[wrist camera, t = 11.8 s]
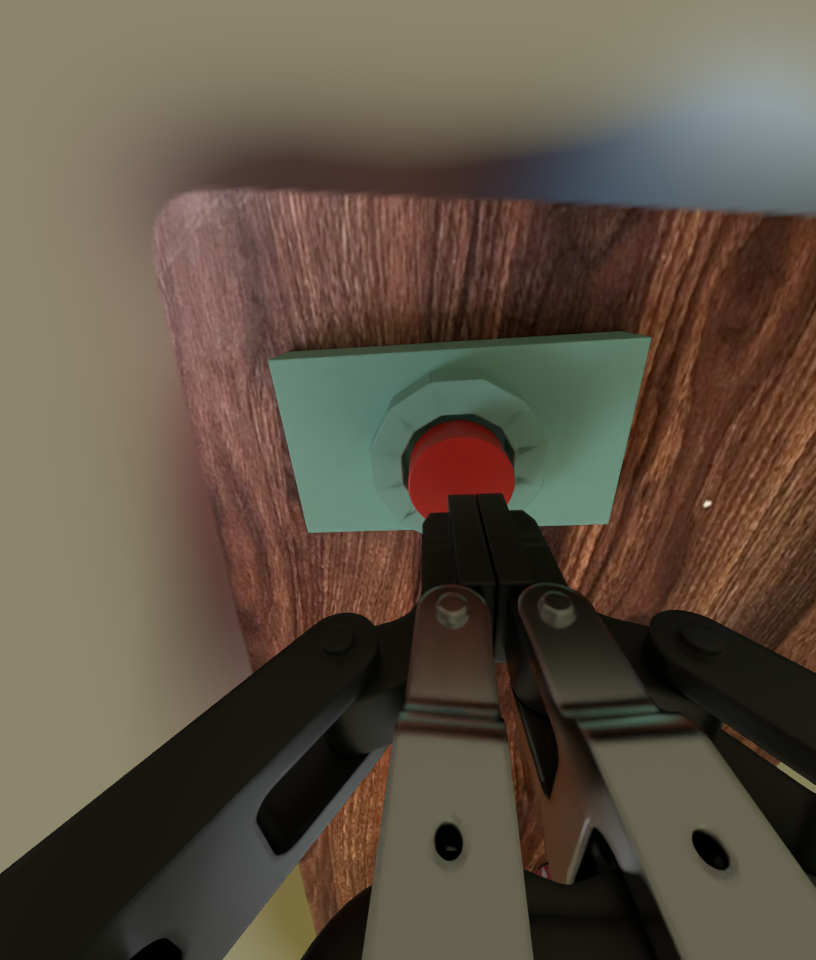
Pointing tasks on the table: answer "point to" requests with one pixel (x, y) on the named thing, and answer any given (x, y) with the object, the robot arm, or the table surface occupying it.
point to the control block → (460, 396)
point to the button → (457, 465)
